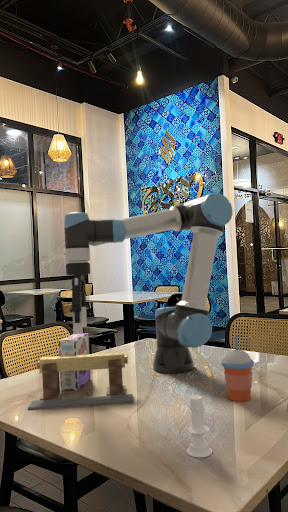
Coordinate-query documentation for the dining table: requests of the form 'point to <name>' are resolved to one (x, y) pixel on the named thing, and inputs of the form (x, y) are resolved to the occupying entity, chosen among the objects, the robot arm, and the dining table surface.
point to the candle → (198, 429)
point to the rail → (82, 361)
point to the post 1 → (51, 383)
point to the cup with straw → (238, 373)
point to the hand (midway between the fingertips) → (80, 330)
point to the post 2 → (115, 379)
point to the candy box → (74, 346)
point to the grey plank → (81, 401)
